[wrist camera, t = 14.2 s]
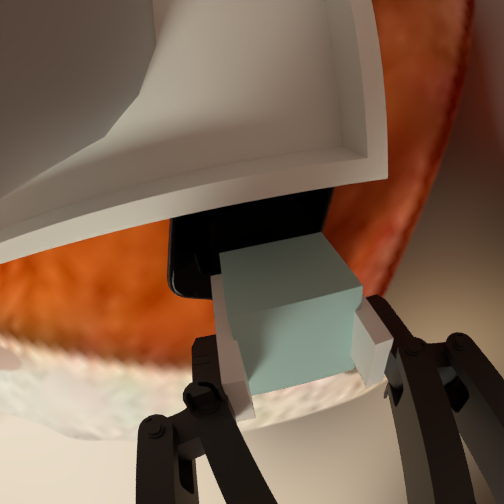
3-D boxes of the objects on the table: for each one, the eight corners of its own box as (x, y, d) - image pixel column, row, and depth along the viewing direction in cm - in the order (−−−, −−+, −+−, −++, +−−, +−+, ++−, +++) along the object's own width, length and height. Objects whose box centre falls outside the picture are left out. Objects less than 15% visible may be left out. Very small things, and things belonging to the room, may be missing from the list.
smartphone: (298, 297, 18) (364, 28, 11) (302, 306, 17) (373, 25, 10) (166, 289, 16) (204, -11, 9) (165, 299, 15) (205, -17, 8)
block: (237, 325, 17) (250, 395, 13) (218, 249, 15) (227, 317, 10) (321, 305, 18) (354, 368, 13) (318, 228, 15) (363, 285, 11)
